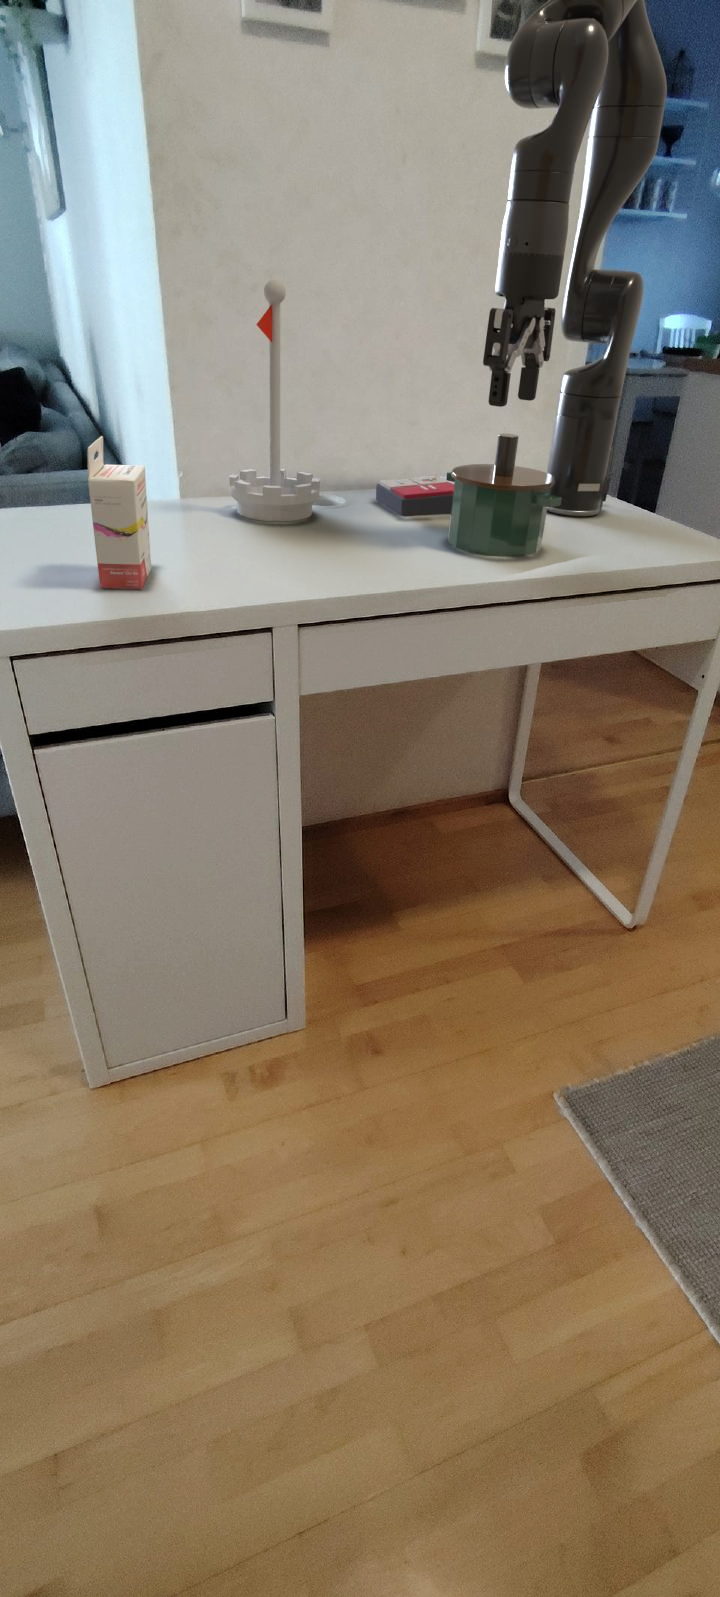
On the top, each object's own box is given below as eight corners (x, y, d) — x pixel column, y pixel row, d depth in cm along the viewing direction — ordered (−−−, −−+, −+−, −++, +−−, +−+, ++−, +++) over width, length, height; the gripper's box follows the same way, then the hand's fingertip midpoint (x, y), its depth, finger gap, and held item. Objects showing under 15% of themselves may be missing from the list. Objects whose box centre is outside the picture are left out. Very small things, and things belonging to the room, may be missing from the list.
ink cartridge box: (144, 590, 94) (132, 450, 86) (99, 589, 93) (82, 448, 86) (154, 567, 101) (143, 435, 93) (111, 566, 101) (97, 434, 93)
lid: (496, 469, 120) (502, 424, 117) (574, 488, 111) (583, 440, 108) (429, 479, 112) (434, 430, 109) (508, 500, 104) (515, 448, 100)
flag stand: (255, 500, 132) (252, 276, 116) (332, 512, 128) (339, 282, 112) (214, 518, 122) (204, 274, 106) (296, 531, 118) (299, 280, 102)
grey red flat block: (375, 478, 133) (460, 471, 138) (374, 506, 135) (458, 498, 140) (403, 494, 124) (492, 486, 129) (402, 524, 127) (490, 514, 131)
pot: (475, 526, 125) (483, 462, 121) (574, 556, 114) (586, 487, 110) (415, 538, 118) (421, 470, 113) (514, 571, 107) (525, 498, 102)
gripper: (536, 249, 91) (515, 412, 100) (585, 253, 101) (561, 401, 110) (475, 247, 95) (459, 404, 103) (527, 251, 105) (509, 394, 113)
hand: (512, 402), depth 107 cm, fingers open, 8 cm apart
